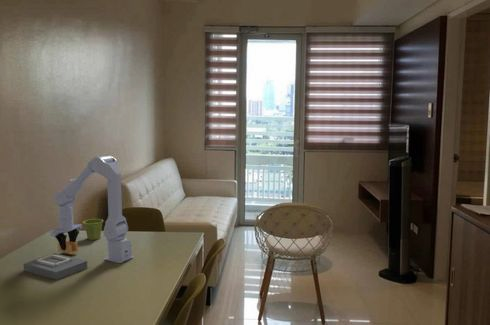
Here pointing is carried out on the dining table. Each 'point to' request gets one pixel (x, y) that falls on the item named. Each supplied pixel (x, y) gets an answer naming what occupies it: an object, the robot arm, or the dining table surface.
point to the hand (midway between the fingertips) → (68, 248)
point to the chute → (69, 247)
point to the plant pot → (93, 228)
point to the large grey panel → (55, 266)
